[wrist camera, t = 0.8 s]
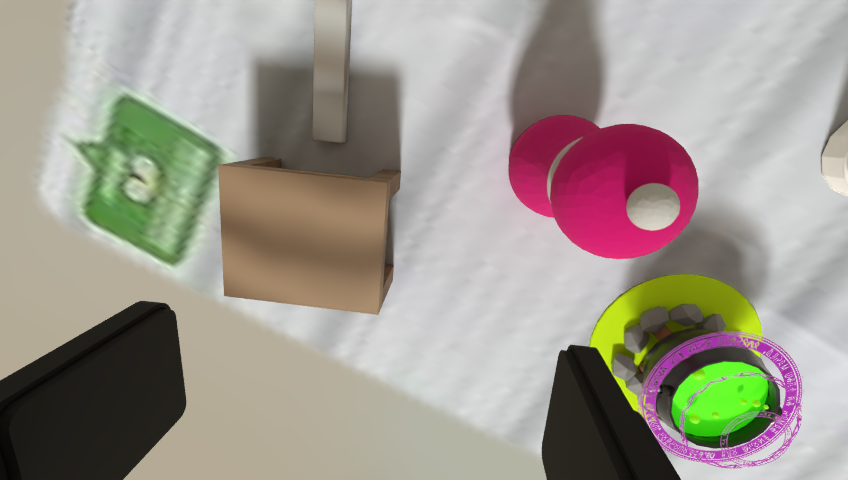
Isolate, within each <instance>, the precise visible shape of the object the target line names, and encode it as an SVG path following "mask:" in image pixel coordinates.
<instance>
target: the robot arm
mask: <svg viewBox="0 0 848 480" xmlns="http://www.w3.org/2000/svg"><path fill="white" fill-rule="evenodd" d="M185 408H186V395H185V386H184V378H183V370H182V362H181V354H180V345H179V337H178V329H177V321H176V315H175V312H174V311H173V310H171V309H170V307H169V306H168V305H167V304H165V303H158V302H148V301H139V302H137V303H135V304H133V305H131V306H130V307H128V308H126V309H124V310H123V311H121V312H119V313H118V314H116V315H114V316H112V317H110V318H109V319H107V320H105V321H103V322H102V323H100V324H98V325H96V326H95V327H93V328H92V329H89V330H88V331H86V332H84V333H82V334H81V335H79V336H77V337H76V338H74V339H72V340H70V341H69V342H67V343H65V344H63V345H62V346H60V347H58V348H56V349H55V350H53V351H51V352H49V353H48V354H46V355H44V356H42V357H41V358H39V359H37V360H35V361H34V362H32V363H30V364H28V365H27V366H25V367H23V368H21V369H20V370H18V371H16V372H14V373H13V374H11V375H9V376H7V377H6V378H4V379H2V380H0V480H123V479H124V478H125V477H126V476H127V475H128V474H129V473H130V472H131V470H132V469H133V468H134V467H135V466H136V465H137V464H138V463H139V462H140V461H141V460H142V459H143V458H144V456H145V455H146V454H147V453H148V452H149V451H150V450H151V449H152V448H153V447H154V446H155V445H156V444H157V442H158V441H159V440H160V439H161V438H162V437H163V436H164V435H165V434H166V433H167V432H168V431H169V430H170V429H171V427H172V426H173V425H174V424H175V423H176V422H177V421H178V420H179V419H180V418H181V416H182V415H183V413H184V410H185ZM542 460H543V465H544V469H545V473H546V477H547V480H681V479H680V477H679V475H678V474H677V472H676V470H675V469H674V467H673V466H672V464H671V462H670V461H669V459H668V457H667V456H666V454H665V452H664V451H663V449H662V447H661V446H660V444H659V443H658V441H657V439H656V438H655V436H654V434H653V433H652V431H651V429H650V428H649V426H648V424H647V423H646V421H645V420H644V418H643V417H642V415H641V414H640V413H639V412H637V411H635V410H633V408H632V407H631V405H630V403H629V402H628V400H627V398H626V397H625V395H624V393H623V391H622V390H621V388H620V386H619V385H618V383H617V381H616V380H615V378H614V376H613V375H612V373H611V371H610V369H609V368H608V366H607V364H606V363H605V361H604V359H603V358H602V356H601V354H600V353H599V351H598V349H597V348H595V347H587V346H577V345H570V346H569V347H568V349H567V351H564V350H561V351H560V353H559V356H558V361H557V367H556V372H555V377H554V383H553V388H552V394H551V399H550V404H549V410H548V415H547V420H546V426H545V431H544V437H543V442H542Z"/></svg>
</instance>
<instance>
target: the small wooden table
mask: <svg viewBox="0 0 848 480" xmlns="http://www.w3.org/2000/svg"><path fill="white" fill-rule="evenodd" d="M218 170H219V192H220V214H221V236H222V257H223V279H224V296H229V297H237V298H245V299H254V300H262V301H270V302H278V303H286V304H294V305H303V306H311V307H319V308H327V309H335V310H344V311H352V312H360V313H368V314H376V315H378V314H379V311H380V309H381V307H382V304H383V302H384V300H385V297H386V295H387V292H388V290H389V288H390V285H391V283H392V280H393V267H394V265H385V252H386V237H387V223H388V209H389V200H390V199H391V198H392V197H393V196H394V194H395V193H396V192H397V191H398V190H399V189H400V176H401V172H400V171H390V170H382V171H381V172H379V173H377V174H376V175H374V176H372V177H371V178H367V177H357V176H348V175H338V174H329V173H319V172H309V171H300V170H290V169H281V159H274V158H265V157H263V158H257V159H251V160H245V161H239V162H234V163H228V164H222V165H218Z"/></svg>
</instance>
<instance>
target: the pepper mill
mask: <svg viewBox="0 0 848 480" xmlns="http://www.w3.org/2000/svg"><path fill="white" fill-rule="evenodd" d="M509 179H510V183H511V186H512V189H513V191H514V193H515V194H516V196H517V197H518V198H519V200H520V201H521V202H522V203H523V204H524V205H525V206H527V207H528V208H530V209H531V210H533V211H534V212H536V213H538V214H541V215H544V216H547V217H554V218H555V220H556V222H557V224H558V226H559V227H560V229H561V230H562V232H563V233H564V234H565V235H566V236H567V237H568V238H569V239H570V240H571V241H572V242H573V243H574V244H576V245H577V246H579V247H580V248H581V249H583V250H585V251H588V252H590V253H592V254H594V255H597V256H601V257H605V258H613V259H628V258H635V257H640V256H644V255H647V254H650V253H652V252H655V251H657V250H659V249H661V248H662V247H664V246H666V245H667V244H669V243H670V242H671V241H672V240H674V239H675V238H676V237H677V236H678V235H679V234H680V233H681V232H682V230H683V229H684V228H685V227H686V225H687V224H688V223H689V221H690V219H691V217H692V215H693V213H694V210H695V208H696V204H697V199H698V177H697V172H696V169H695V166H694V164H693V162H692V160H691V157H690V156H689V155H688V153H687V152H686V150H685V149H684V148H683V147H682V146H681V145H680V144H679V143H678V142H677V141H675V140H674V139H673V138H672V137H670V136H669V135H667V134H665V133H663V132H661V131H659V130H656V129H653V128H650V127H647V126H643V125H636V124H619V125H614V126H609V127H605V128H601V129H600V128H599V127H598V126H596V125H595V124H594V123H592V122H590V121H588V120H586V119H583V118H580V117H576V116H569V115H557V116H552V117H548V118H545V119H543V120H540V121H538V122H537V123H535V124H533V125H532V126H531V127H529V128H528V129H527V130H526V131H525V132H524V133H523V134H522V135H521V136H520V137H519V138H518V140H517V141H516V142H515V144H514V146H513V148H512V150H511V153H510V158H509Z"/></svg>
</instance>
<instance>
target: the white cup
mask: <svg viewBox="0 0 848 480" xmlns="http://www.w3.org/2000/svg"><path fill="white" fill-rule="evenodd" d="M822 175H823V177H824V178H825V180H826V182H827V183H828V185H829V186H830V188H831V189H832V190H834V191H836V192H838V193H840V194H843V195H845V196H847V197H848V120H847V121H846V122H845V123H844V124H843V125H842V126H841V127H840V128H839V129H838V130H837V131H836V132H835V133H834V134H833V135H831V137H830V138H829V141H828V143H827V145H826V147H825V150H824V152H823V154H822Z"/></svg>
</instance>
